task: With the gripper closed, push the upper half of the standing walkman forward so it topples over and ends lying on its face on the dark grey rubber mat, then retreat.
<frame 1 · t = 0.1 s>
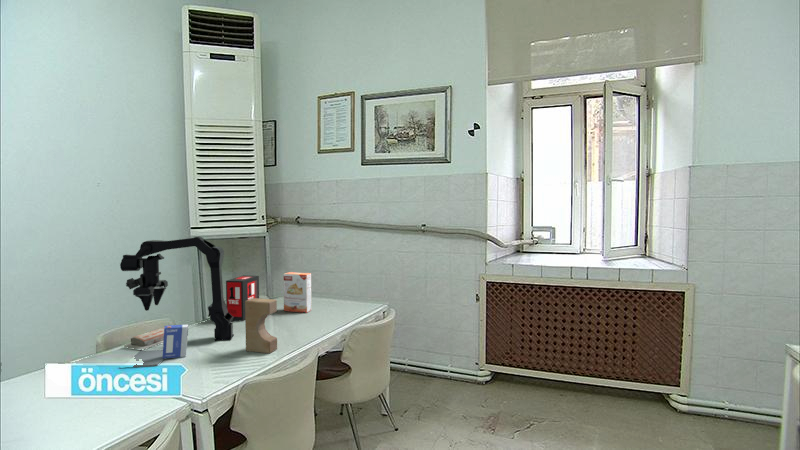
hand: (151, 307, 167), 15 cm above the table, tool pointing down, fingers open, 9 cm apart
packaged product: (153, 343, 167), on the table
walkman: (174, 356, 150), on the table, touching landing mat
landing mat: (148, 358, 149), on the table
cleaning product box: (243, 316, 208), on the table
decorative block: (261, 350, 158), on the table
cracker box: (297, 311, 219), on the table
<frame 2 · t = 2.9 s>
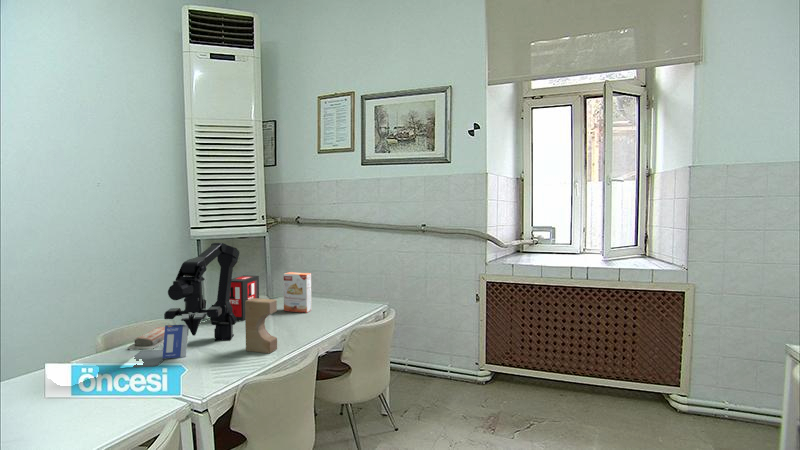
hand: (194, 335, 152), 8 cm above the table, tool pointing down, fingers closed
walkman: (174, 356, 150), on the table, touching gripper, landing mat
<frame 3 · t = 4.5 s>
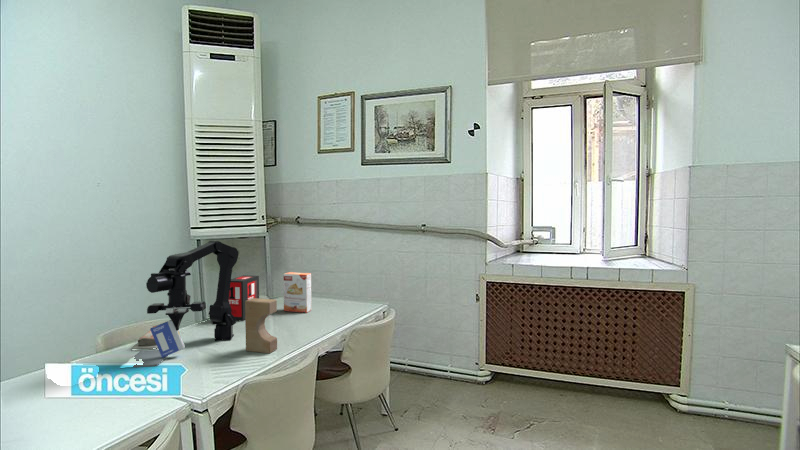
hand: (177, 330, 150), 10 cm above the table, tool pointing down, fingers closed
walkman: (173, 352, 150), point 2 cm above the table, touching gripper, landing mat
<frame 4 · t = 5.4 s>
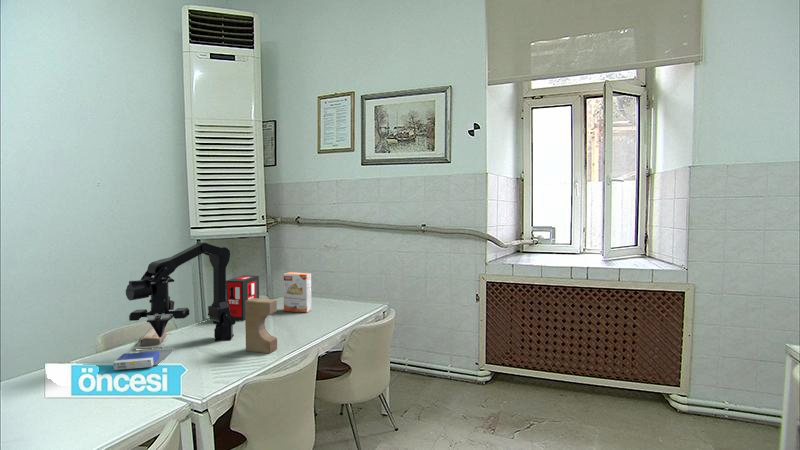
hand: (160, 336, 149), 8 cm above the table, tool pointing down, fingers closed
walkman: (156, 358, 143), point 2 cm above the table, touching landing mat
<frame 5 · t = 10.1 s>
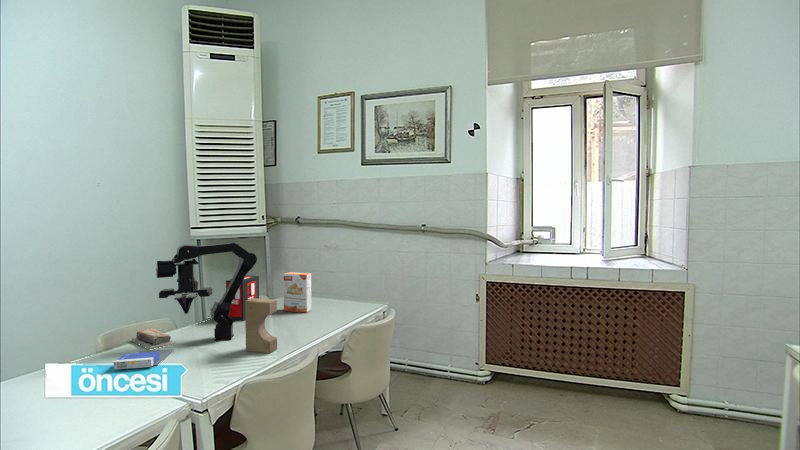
hand: (186, 313, 164), 13 cm above the table, tool pointing down, fingers closed
at the end: walkman tilted 90°; walkman touching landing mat; the gripper is holding nothing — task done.
